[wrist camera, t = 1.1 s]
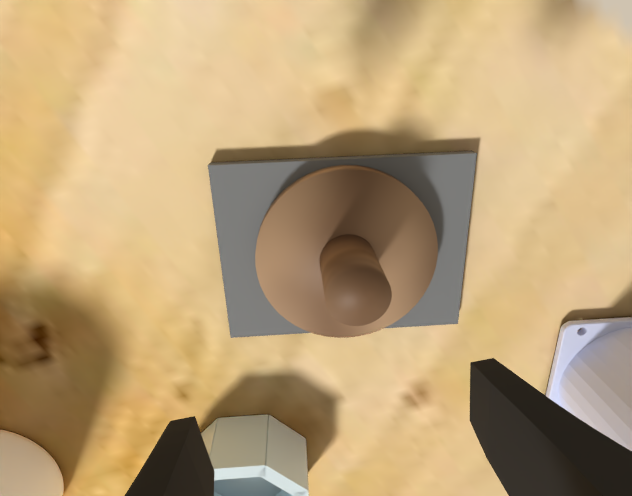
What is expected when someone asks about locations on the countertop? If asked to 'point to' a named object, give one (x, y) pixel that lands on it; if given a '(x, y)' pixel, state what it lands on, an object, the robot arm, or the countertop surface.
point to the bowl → (256, 457)
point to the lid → (345, 251)
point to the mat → (276, 175)
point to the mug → (27, 468)
